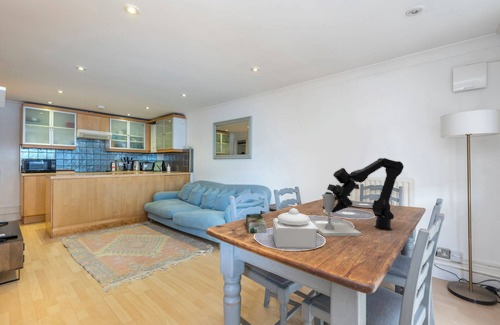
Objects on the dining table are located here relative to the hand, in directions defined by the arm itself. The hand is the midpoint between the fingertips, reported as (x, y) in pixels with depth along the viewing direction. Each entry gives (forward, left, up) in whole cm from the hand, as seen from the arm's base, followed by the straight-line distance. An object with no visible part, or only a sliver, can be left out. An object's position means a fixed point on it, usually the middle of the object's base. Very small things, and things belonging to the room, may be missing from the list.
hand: (327, 210), depth 124 cm
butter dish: (+22, +14, -12) cm, 28 cm away
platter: (-5, -2, -11) cm, 13 cm away
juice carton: (+38, -9, -12) cm, 41 cm away
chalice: (-1, 0, -10) cm, 10 cm away
